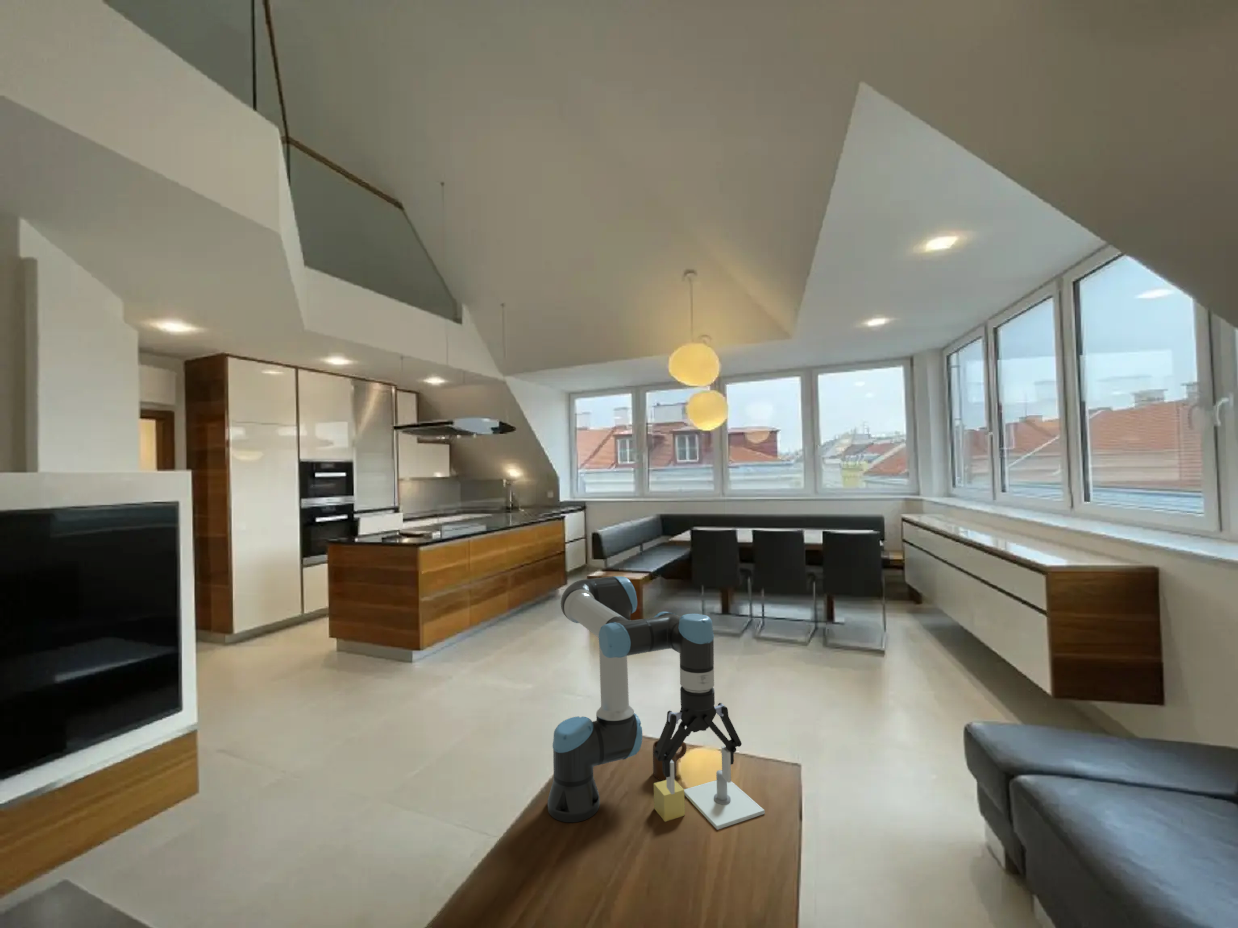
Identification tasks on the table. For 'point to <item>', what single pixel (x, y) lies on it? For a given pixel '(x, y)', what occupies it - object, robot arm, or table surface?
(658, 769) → the mug
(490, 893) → the table surface
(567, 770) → the robot arm
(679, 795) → the pale yellow cube
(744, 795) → the white square plate
